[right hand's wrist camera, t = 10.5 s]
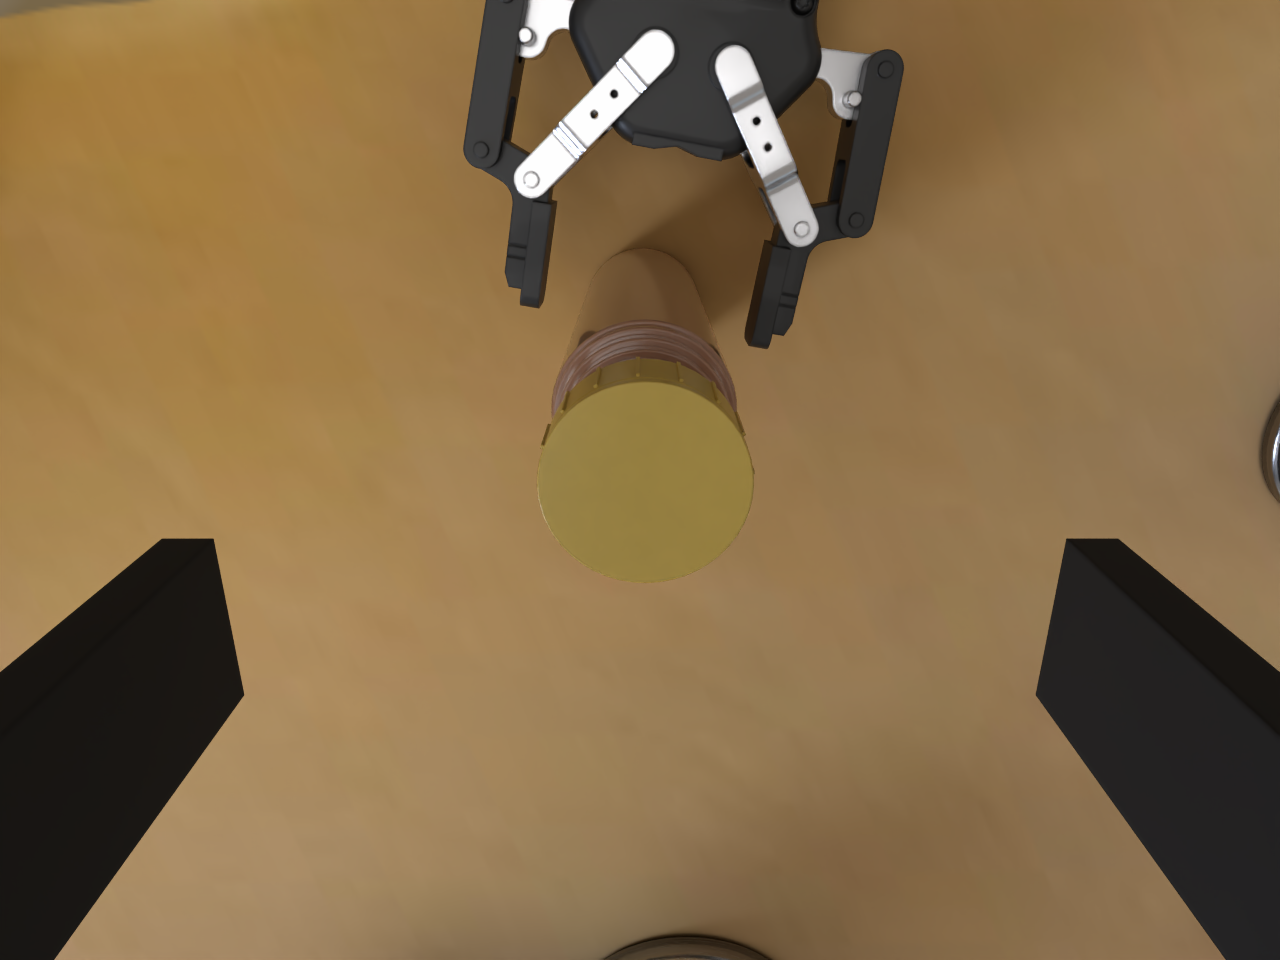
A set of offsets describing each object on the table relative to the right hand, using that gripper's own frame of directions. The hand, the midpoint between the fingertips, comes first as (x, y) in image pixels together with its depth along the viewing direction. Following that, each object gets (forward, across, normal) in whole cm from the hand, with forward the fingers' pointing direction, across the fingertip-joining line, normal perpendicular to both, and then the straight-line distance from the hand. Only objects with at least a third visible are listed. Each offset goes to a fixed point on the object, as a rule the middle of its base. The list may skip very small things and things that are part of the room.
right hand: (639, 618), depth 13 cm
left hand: (+21, 0, 0) cm, 21 cm away
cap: (+6, 0, 0) cm, 6 cm away
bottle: (+27, 0, 0) cm, 27 cm away
